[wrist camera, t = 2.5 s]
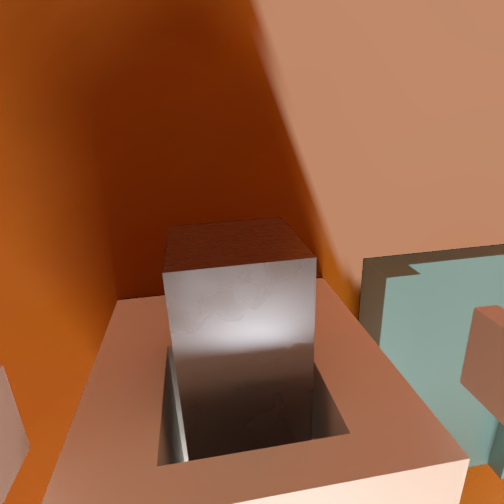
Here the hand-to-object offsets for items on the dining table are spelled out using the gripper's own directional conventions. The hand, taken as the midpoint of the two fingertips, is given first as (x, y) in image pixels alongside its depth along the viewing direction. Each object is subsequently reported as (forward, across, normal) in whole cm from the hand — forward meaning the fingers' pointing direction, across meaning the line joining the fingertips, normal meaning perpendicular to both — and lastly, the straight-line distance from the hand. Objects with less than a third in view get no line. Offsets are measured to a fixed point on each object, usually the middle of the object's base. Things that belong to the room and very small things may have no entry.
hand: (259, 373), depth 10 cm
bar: (+6, 0, -4) cm, 7 cm away
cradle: (+11, +15, -10) cm, 21 cm away
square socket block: (+11, 0, -7) cm, 13 cm away
